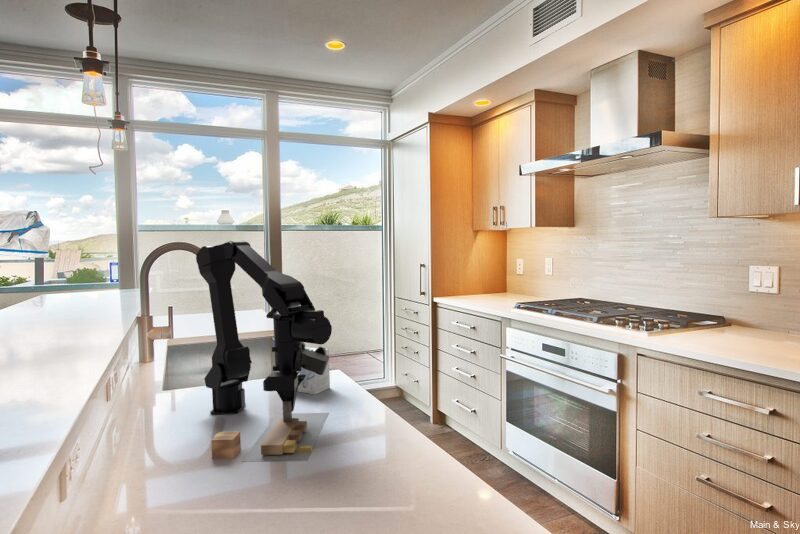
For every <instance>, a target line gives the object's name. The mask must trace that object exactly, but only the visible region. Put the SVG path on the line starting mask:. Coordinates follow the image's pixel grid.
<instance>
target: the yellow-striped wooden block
mask: <svg viewBox="0 0 800 534" xmlns="http://www.w3.org/2000/svg"><path fill="white" fill-rule="evenodd" d="M210 444H211V445H210V446H211V459H213V460H216V459H218V460H219V459H222V460H223V459H235V457H236V456H238V453H240V451H241V450H242V449H241V448H242V445H241V444H242V443H241V430H240V431H238V430H237V431H219V432H218V433H217V434H215V435H214V436H213V438H212V439H211V440H210Z"/></svg>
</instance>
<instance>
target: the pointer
mask: <svg viewBox="0 0 800 534" xmlns="http://www.w3.org/2000/svg"><path fill="white" fill-rule="evenodd" d="M311 451H312V452H313V449H312V446H299V448H298V452H311ZM312 452H311V453H312Z"/></svg>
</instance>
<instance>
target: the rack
mask: <svg viewBox="0 0 800 534" xmlns="http://www.w3.org/2000/svg"><path fill="white" fill-rule="evenodd" d="M292 413H293V412H292V406H291V401H284V402H282V414H283V418H280V419H279V420H278V422H277V423H276V425H275V426H274V428H273V429H272V430H271V432H270V433H269V435H268V436H267V437H266V439H265V440H264V442H263V443H262V444H261V455H281V454H283V453H294V451H295V449H296V447H297V444H296V442H300V440H301V438H302V432H305V430H306V429H307V421H299V418H292Z"/></svg>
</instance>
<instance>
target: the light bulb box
mask: <svg viewBox="0 0 800 534" xmlns="http://www.w3.org/2000/svg"><path fill="white" fill-rule="evenodd" d="M317 348H318V347H309V346H305V349H307V350H313V351H315V350H316V349H317ZM325 349H326V355H329V356H330V350H329V348H325ZM298 372H300V375H306V377H305V378H304V380H303V381H302V382H301V384H300V385H299V386H298V391H297V393H298V392H299V393H306V394H311V395H317V394H319V393H322V392H324V391H326V390H328V389H330V387H331V379H330V378H331V376H330V374H331V373H330V360H329V361H328V364H327V367H326V370H325V372H324V373H323V375H318V374H316V373H315V372H312V371H309V370H306V369H304V368H302V370H301V371H298Z"/></svg>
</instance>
